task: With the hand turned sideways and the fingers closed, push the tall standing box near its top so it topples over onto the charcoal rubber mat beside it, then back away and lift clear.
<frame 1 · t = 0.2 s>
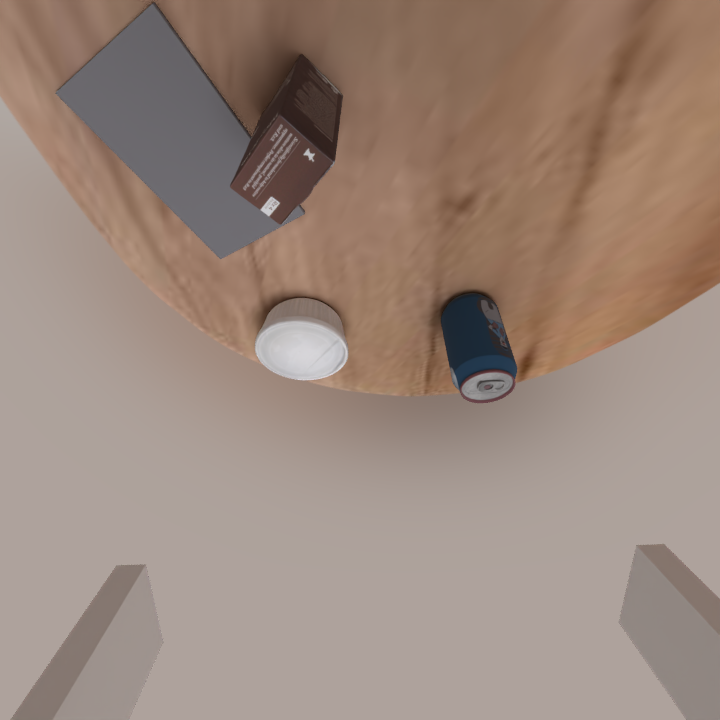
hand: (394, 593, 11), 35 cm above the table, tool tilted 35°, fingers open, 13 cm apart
box: (299, 104, 33), on the table
ramekin: (305, 321, 53), on the table
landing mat: (195, 158, 36), on the table
soda can: (467, 308, 51), on the table
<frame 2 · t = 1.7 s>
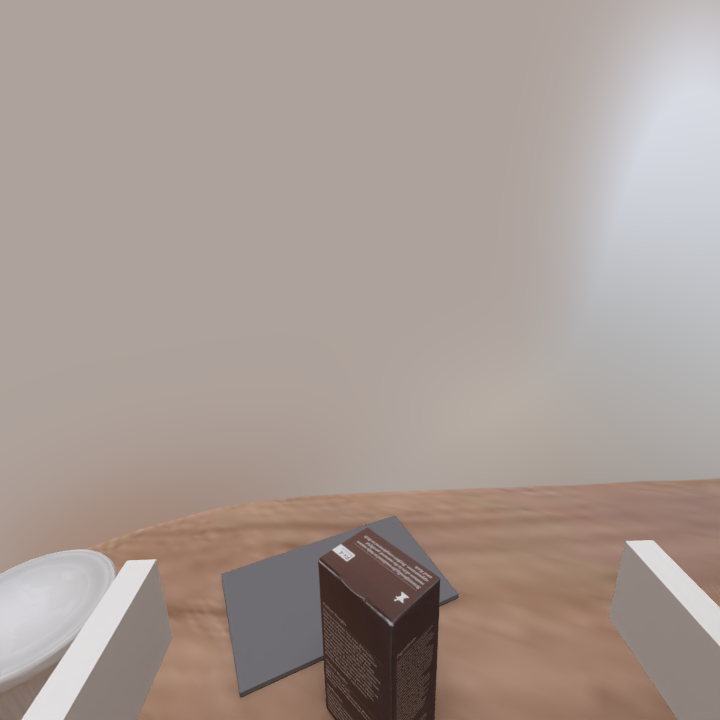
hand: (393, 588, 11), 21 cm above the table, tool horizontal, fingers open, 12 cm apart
box: (379, 718, 26), on the table
ramekin: (45, 662, 31), on the table
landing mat: (335, 587, 36), on the table
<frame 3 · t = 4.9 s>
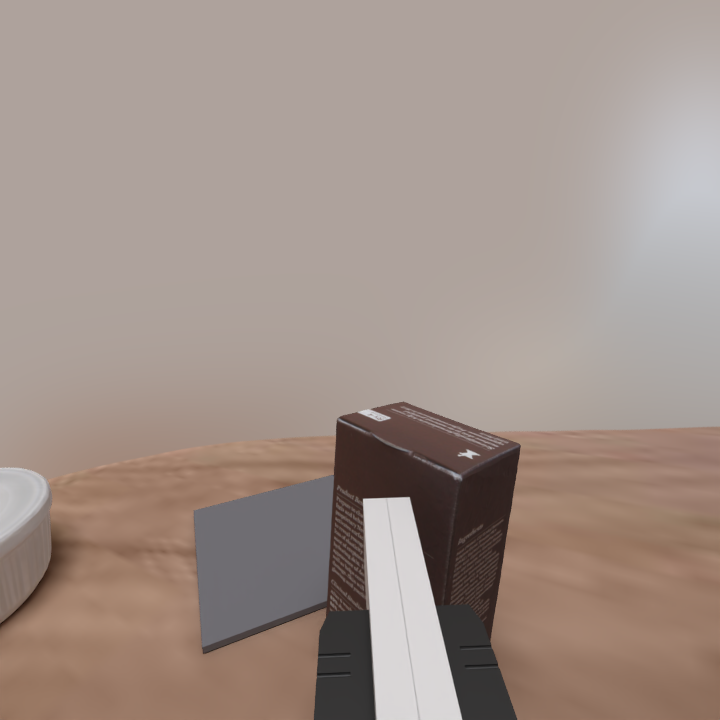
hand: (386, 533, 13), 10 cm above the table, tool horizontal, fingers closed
box: (399, 682, 18), on the table
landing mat: (338, 527, 28), on the table
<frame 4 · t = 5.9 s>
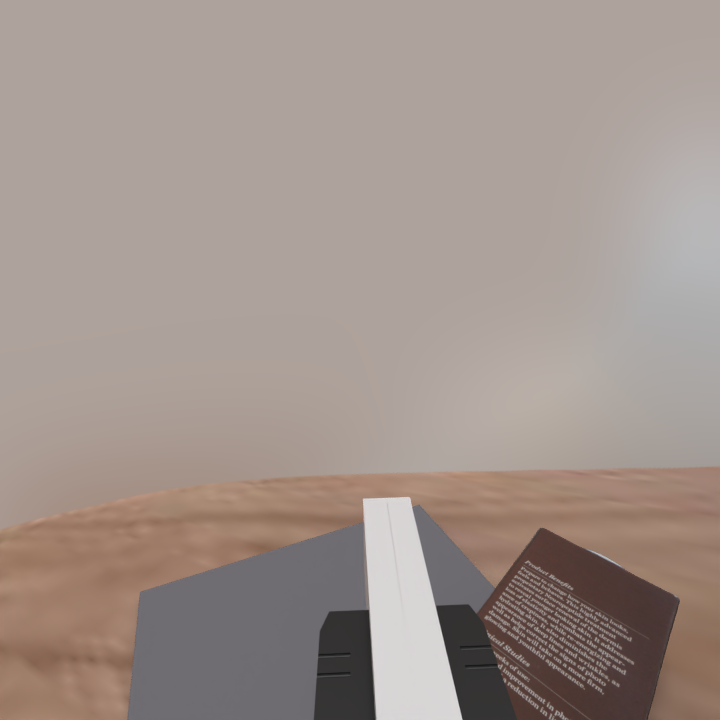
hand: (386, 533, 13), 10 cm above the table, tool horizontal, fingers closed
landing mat: (326, 618, 21), on the table
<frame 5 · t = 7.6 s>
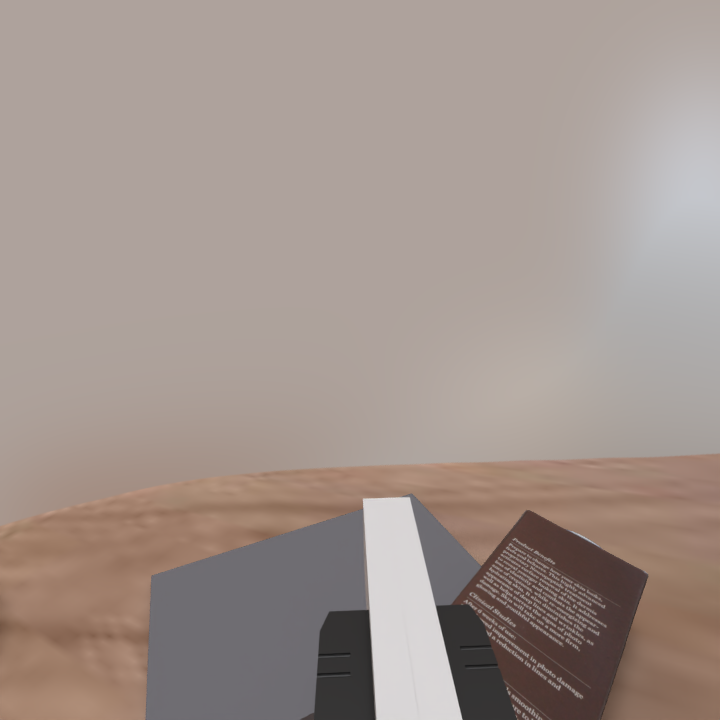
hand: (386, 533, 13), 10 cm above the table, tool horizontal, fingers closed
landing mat: (326, 596, 23), on the table
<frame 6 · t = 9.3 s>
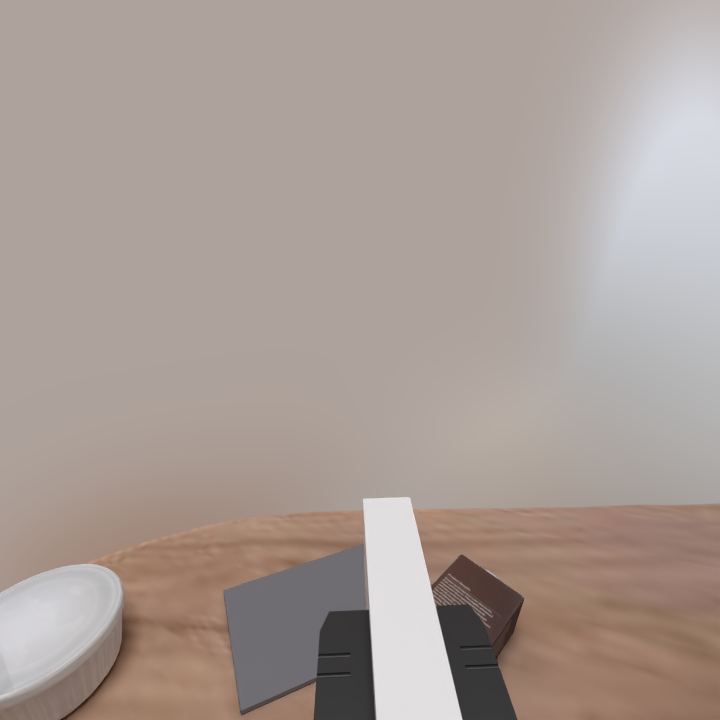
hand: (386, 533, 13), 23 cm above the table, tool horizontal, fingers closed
box: (399, 701, 27), point 2 cm above the table, touching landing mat
ramekin: (51, 675, 31), on the table
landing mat: (334, 606, 37), on the table
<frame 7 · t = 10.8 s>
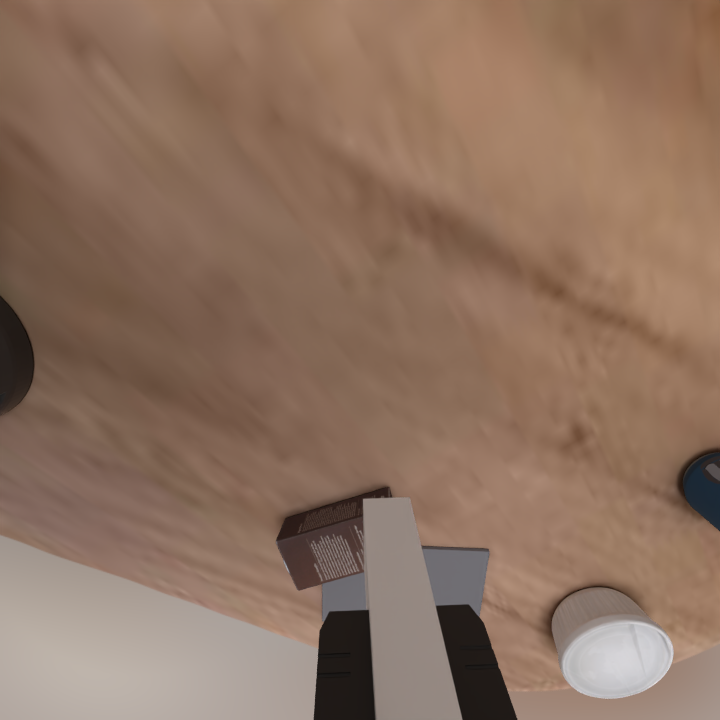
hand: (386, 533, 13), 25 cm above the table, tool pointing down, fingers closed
box: (402, 520, 41), point 2 cm above the table, touching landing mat
ramekin: (591, 614, 47), on the table
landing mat: (402, 584, 46), on the table
soda can: (710, 475, 41), on the table
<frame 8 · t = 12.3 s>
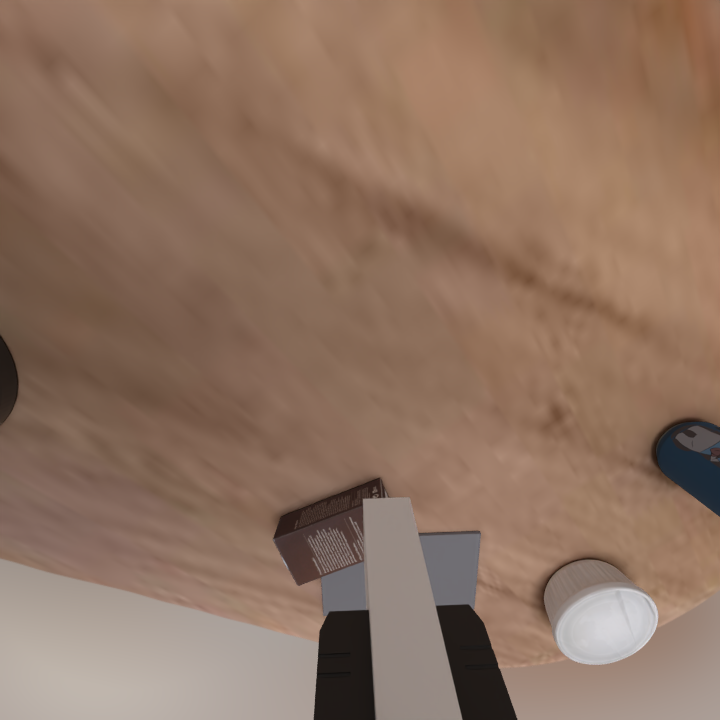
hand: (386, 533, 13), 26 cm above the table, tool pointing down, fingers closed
box: (395, 509, 42), point 2 cm above the table, touching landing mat
ramekin: (580, 586, 49), on the table
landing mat: (399, 573, 47), on the table
soda can: (680, 444, 43), on the table
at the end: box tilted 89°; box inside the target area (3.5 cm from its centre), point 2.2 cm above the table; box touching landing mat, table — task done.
